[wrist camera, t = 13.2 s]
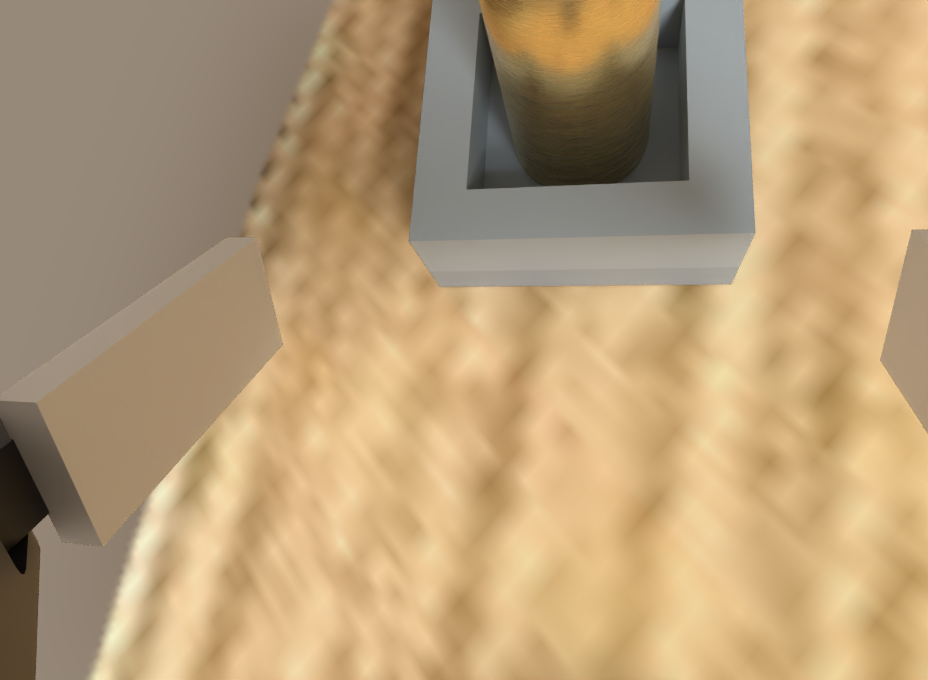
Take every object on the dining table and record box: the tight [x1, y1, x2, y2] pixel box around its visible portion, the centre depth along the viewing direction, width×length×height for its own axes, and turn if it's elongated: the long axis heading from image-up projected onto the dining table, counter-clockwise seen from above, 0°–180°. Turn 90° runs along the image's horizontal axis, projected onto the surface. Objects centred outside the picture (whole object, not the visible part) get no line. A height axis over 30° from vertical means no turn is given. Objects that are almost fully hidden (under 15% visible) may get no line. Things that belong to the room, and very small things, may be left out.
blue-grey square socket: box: [409, 0, 755, 287], centre depth 23 cm, size 10×10×4 cm
